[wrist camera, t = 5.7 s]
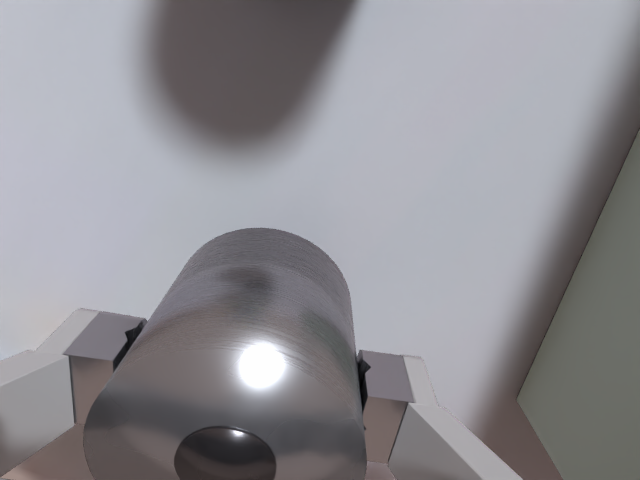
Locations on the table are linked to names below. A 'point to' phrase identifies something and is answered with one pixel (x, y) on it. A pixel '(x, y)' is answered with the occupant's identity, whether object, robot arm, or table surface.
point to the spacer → (238, 373)
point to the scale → (595, 350)
